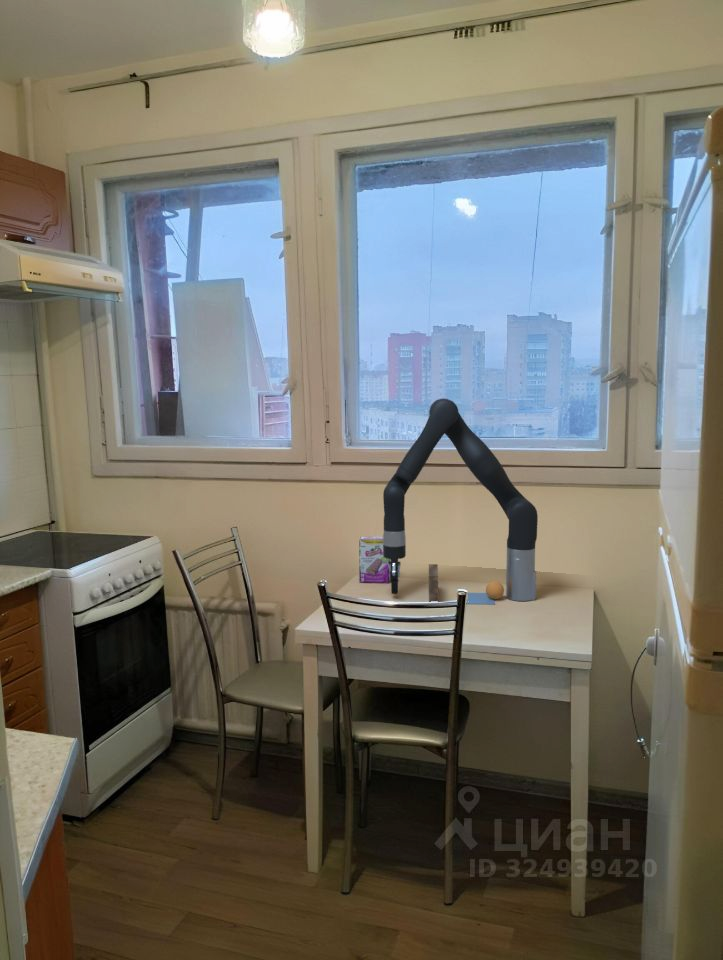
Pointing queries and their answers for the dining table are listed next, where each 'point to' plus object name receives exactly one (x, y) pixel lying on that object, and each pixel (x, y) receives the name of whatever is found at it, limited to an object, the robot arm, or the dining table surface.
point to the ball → (494, 590)
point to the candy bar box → (372, 561)
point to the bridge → (433, 582)
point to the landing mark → (479, 598)
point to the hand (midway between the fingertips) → (394, 593)
